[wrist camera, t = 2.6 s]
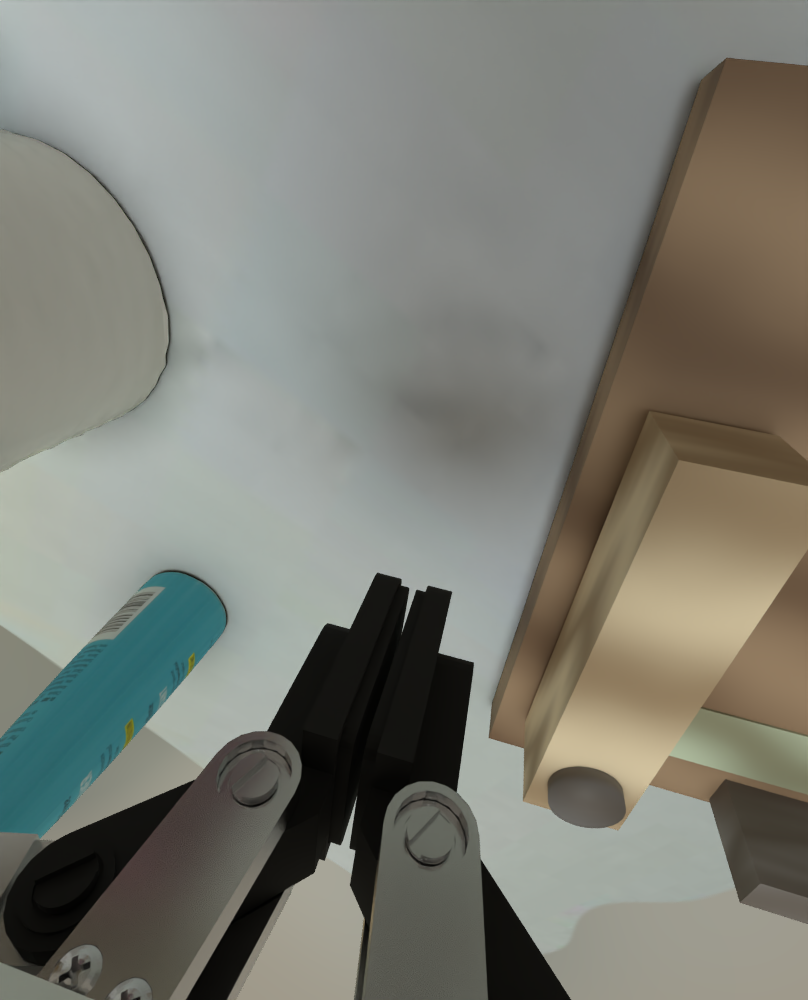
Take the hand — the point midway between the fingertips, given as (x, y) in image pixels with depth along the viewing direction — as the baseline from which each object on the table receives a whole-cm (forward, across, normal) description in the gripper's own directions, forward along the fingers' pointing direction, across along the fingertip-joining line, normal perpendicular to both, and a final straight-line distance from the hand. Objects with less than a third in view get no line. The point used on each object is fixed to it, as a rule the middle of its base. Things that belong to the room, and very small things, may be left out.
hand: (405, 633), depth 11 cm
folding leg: (+8, -7, +4) cm, 11 cm away
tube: (+10, +13, +12) cm, 20 cm away
